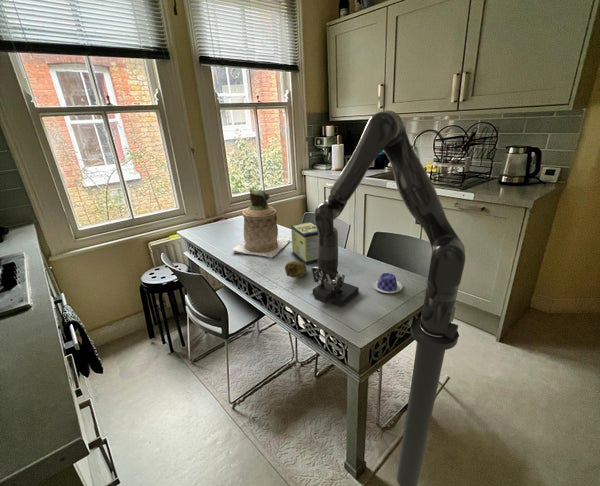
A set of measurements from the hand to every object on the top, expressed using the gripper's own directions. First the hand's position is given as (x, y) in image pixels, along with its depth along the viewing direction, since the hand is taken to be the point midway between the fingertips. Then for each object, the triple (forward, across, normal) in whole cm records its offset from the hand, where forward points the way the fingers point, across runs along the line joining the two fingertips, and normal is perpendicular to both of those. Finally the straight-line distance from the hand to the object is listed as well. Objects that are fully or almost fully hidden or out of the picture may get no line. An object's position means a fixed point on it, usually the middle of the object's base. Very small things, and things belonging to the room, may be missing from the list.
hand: (327, 294), depth 122 cm
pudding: (+2, -14, -23) cm, 27 cm away
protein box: (+2, +31, -27) cm, 41 cm away
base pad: (+2, 0, -6) cm, 6 cm away
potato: (+2, +22, -8) cm, 23 cm away
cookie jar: (+2, +59, -22) cm, 63 cm away
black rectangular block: (0, 0, 0) cm, 0 cm away
